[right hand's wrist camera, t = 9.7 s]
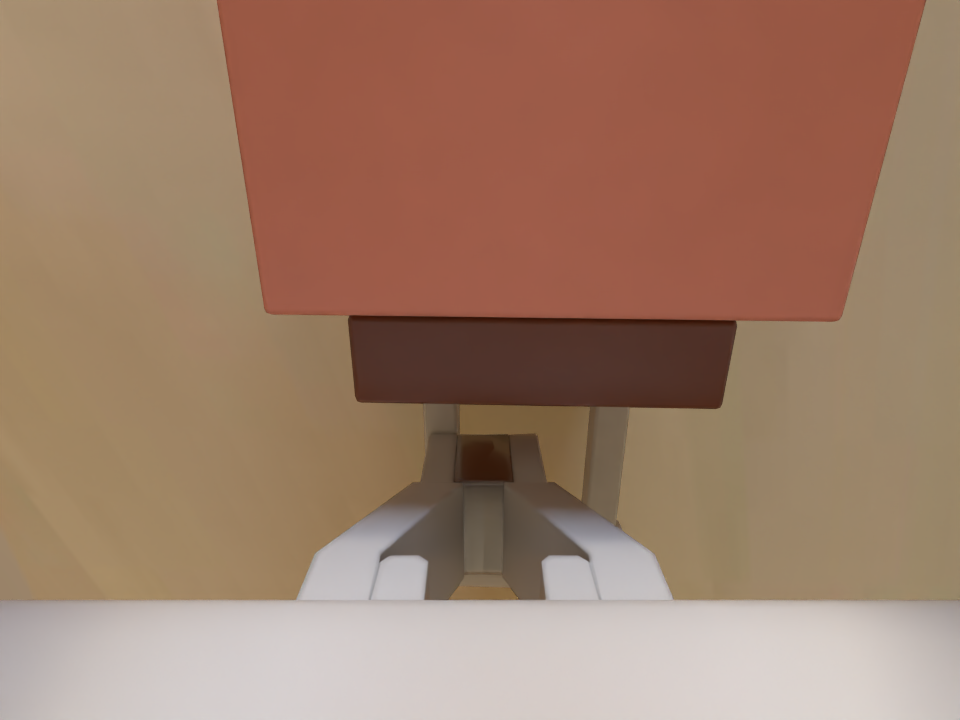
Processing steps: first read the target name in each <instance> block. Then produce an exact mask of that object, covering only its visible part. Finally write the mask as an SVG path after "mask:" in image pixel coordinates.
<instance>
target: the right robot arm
mask: <svg viewBox="0 0 960 720" xmlns="http://www.w3.org/2000/svg"><path fill="white" fill-rule="evenodd" d="M464 575H503V576H502V577H503V579H504V580H505V581H506V583H507V584H508V585H509V587H510V588H511V589H512V590H513V592H514V593H515V594H516V596H517V597H518V598H519V600H448V599H449V598H450V596H451V595H452V594H453V592H454V591H455V590H456V588H457V587H458V586H459V584H460V583H461V582H462V580H463V579H464ZM0 720H960V600H674V599H673V596H672V594H671V592H670V589H669V587H668V584H667V582H666V580H665V577H664V575H663V573H662V570H661V568H660V566H659V563H658V561H657V558H656V556H655V554H654V553H653V552H651V551H650V550H648V549H647V548H646V547H644V546H643V545H641V544H640V543H639V542H637V541H636V540H634V539H633V538H632V537H630V536H629V535H627V534H626V533H625V532H623V531H622V530H620V529H619V528H618V527H616V526H615V525H613V524H612V523H611V522H609V521H608V520H606V519H605V518H604V517H602V516H601V515H599V514H598V513H597V512H595V511H594V510H592V509H591V508H590V507H588V506H587V505H585V504H584V503H583V502H581V501H580V500H578V499H577V498H576V497H574V496H573V495H571V494H570V493H569V492H567V491H566V490H564V489H563V488H562V487H560V486H559V485H557V484H556V483H554V482H547V481H546V476H545V471H544V466H543V461H542V456H541V451H540V446H539V441H538V436H537V435H536V434H514V435H508V434H498V435H470V434H458V435H457V434H431V435H430V436H429V437H428V443H427V448H426V454H425V460H424V465H423V471H422V477H421V482H413V483H411V484H410V485H409V486H407V487H406V488H404V489H403V490H402V491H400V492H399V493H398V494H396V495H395V496H393V497H392V498H391V499H389V500H388V501H386V502H385V503H384V504H382V505H381V506H380V507H378V508H377V509H375V510H374V511H373V512H371V513H370V514H369V515H367V516H366V517H364V518H363V519H362V520H360V521H359V522H357V523H356V524H355V525H353V526H352V527H351V528H349V529H348V530H346V531H345V532H344V533H342V534H341V535H339V536H338V537H337V538H335V539H334V540H333V541H331V542H330V543H328V544H327V545H326V546H324V547H323V548H322V549H320V550H319V551H317V552H316V553H315V555H314V557H313V560H312V562H311V565H310V567H309V569H308V572H307V574H306V577H305V579H304V582H303V584H302V587H301V589H300V591H299V594H298V596H297V599H296V600H0Z"/></svg>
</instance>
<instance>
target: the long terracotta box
mask: <svg viewBox="0 0 960 720" xmlns="http://www.w3.org/2000/svg"><path fill="white" fill-rule="evenodd" d="M925 2H926V0H217V4H218V11H219V17H220V23H221V30H222V36H223V43H224V49H225V56H226V62H227V69H228V75H229V82H230V88H231V95H232V101H233V108H234V114H235V121H236V127H237V134H238V140H239V146H240V153H241V159H242V166H243V172H244V179H245V185H246V192H247V198H248V205H249V211H250V218H251V224H252V231H253V237H254V244H255V250H256V257H257V263H258V270H259V276H260V282H261V289H262V295H263V302H264V308H265V310H266V312H267V313H270V314H281V315H358V316H435V317H511V318H588V319H665V320H741V321H818V322H832V321H837V320H839V319H840V318H841V316H842V314H843V310H844V306H845V302H846V299H847V295H848V291H849V287H850V284H851V280H852V276H853V272H854V269H855V265H856V261H857V257H858V254H859V250H860V246H861V242H862V239H863V235H864V231H865V227H866V224H867V220H868V216H869V212H870V209H871V205H872V201H873V197H874V194H875V190H876V186H877V182H878V179H879V175H880V171H881V167H882V164H883V160H884V156H885V152H886V149H887V145H888V141H889V137H890V134H891V130H892V126H893V122H894V119H895V115H896V111H897V107H898V104H899V100H900V96H901V92H902V89H903V85H904V81H905V77H906V73H907V70H908V66H909V62H910V58H911V55H912V51H913V47H914V43H915V40H916V36H917V32H918V28H919V25H920V21H921V17H922V13H923V10H924V6H925Z"/></svg>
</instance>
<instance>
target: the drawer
mask: <svg viewBox="0 0 960 720" xmlns="http://www.w3.org/2000/svg"><path fill="white" fill-rule="evenodd" d="M348 326H349V336H350V347H351V357H352V368H353V378H354V389H355V397H356V399H357V401H358V402H365V403H420V404H423V410H424V434H425V454H426V448H427V443H428V437H429V436H430V435H431V434H457V435H458V434H460V417H459V404H474V405H529V406H584V407H590V413H589V424H588V436H587V447H586V458H585V470H584V481H583V492H582V502H583V503H584V504H585V505H587V506H588V507H590V508H591V509H592V510H594V511H595V512H597V513H598V514H599V515H601V516H602V517H604V518H605V519H606V520H608V521H609V522H611V523H612V524H613V525H615V526H616V527H618V528H619V529H620V530H622V528H621V525H620V523H619V521H618V520H616V518H617V510H618V502H619V493H620V485H621V476H622V468H623V460H624V451H625V443H626V435H627V426H628V418H629V409H630V407H638V408H693V409H717V408H720V407H721V405H722V402H723V396H724V391H725V386H726V381H727V376H728V370H729V365H730V360H731V355H732V349H733V344H734V339H735V334H736V328H737V324H736V320H665V319H588V318H511V317H435V316H358V315H350V316H349V319H348ZM502 576H503V575H464V579H463V580H462V582H461V583H460V584H459V586H473V587H507V588H510V587H509V585H508V584H507V583H506V581H505V580H504V579H503V577H502Z"/></svg>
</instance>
